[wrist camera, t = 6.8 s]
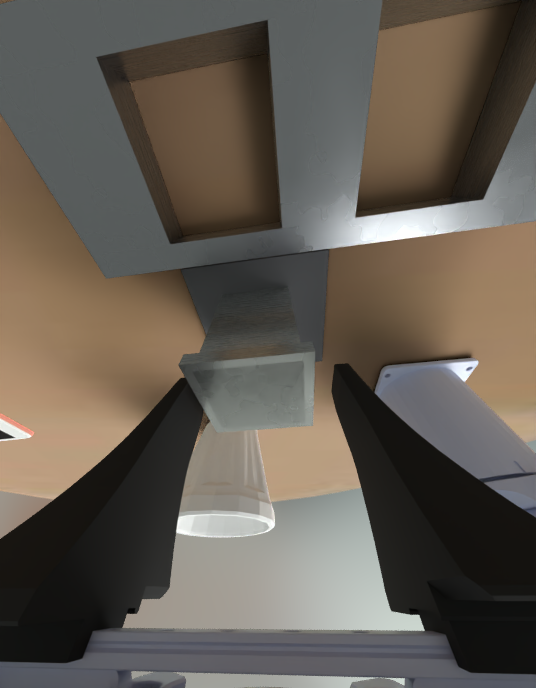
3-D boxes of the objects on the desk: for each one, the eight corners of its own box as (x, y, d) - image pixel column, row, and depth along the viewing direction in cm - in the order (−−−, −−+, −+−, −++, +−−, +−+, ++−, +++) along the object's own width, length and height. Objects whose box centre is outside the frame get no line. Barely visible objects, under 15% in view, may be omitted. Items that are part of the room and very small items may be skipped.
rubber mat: (320, 357, 18) (322, 361, 17) (221, 367, 18) (220, 370, 18) (327, 248, 12) (328, 250, 12) (182, 267, 13) (180, 269, 12)
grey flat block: (502, 215, 11) (541, 220, 9) (126, 266, 13) (106, 278, 11) (662, -96, 6) (801, -193, 4) (6, 52, 8) (-61, 18, 6)
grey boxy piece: (296, 343, 16) (312, 425, 11) (233, 349, 16) (216, 432, 11) (293, 279, 13) (315, 351, 7) (214, 289, 13) (178, 365, 8)
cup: (183, 437, 26) (152, 533, 19) (201, 394, 21) (167, 507, 13) (253, 451, 29) (249, 539, 22) (286, 416, 23) (296, 520, 16)
